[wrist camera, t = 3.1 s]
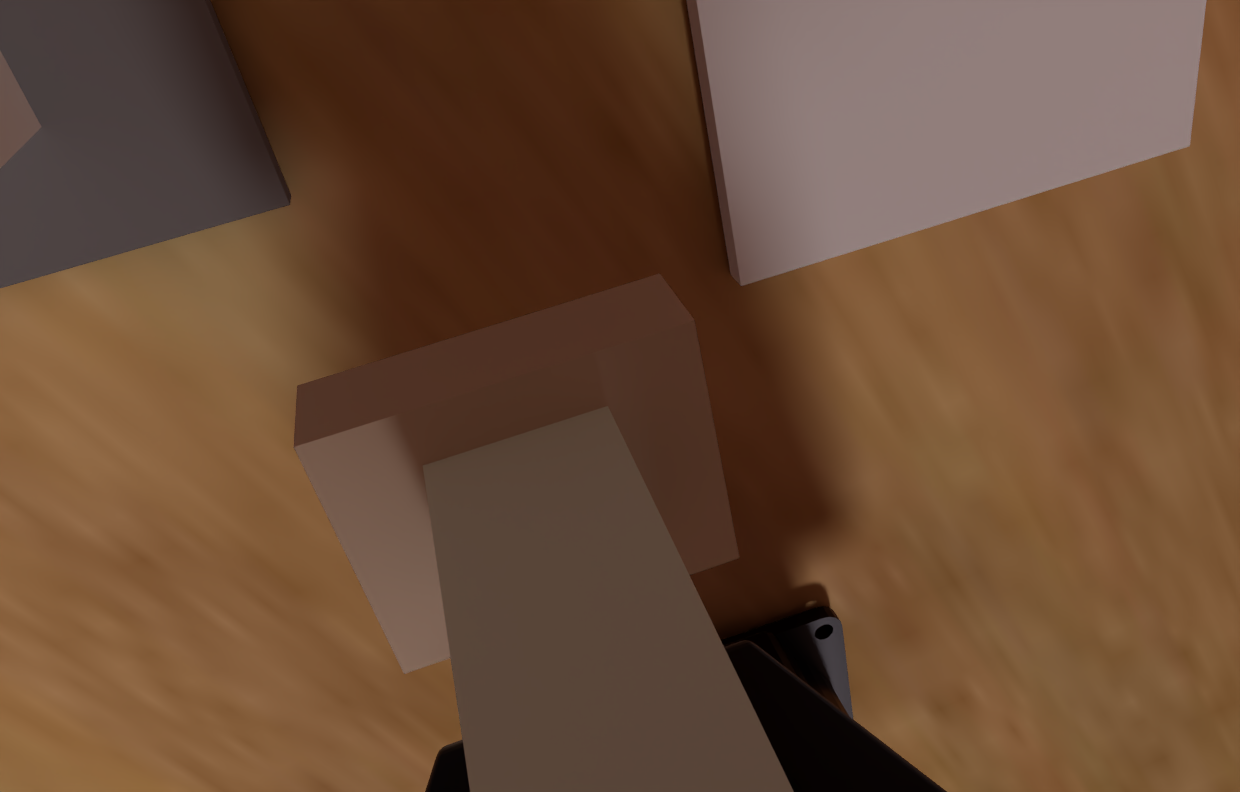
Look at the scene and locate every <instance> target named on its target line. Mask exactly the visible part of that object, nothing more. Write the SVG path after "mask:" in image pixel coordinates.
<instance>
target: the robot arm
mask: <svg viewBox="0 0 1240 792" xmlns="http://www.w3.org/2000/svg"><path fill="white" fill-rule="evenodd" d="M822 625H823V626H822ZM820 626H822V627H820ZM819 627H820V628H819ZM721 642H722V644H723V646H724V648H725V650H726V652H727V654H728V656H729V658H730V661H731V663H732V665H733V667H734V669H735V671H736V673H737V675H738V677H739V679H740V681H741V683H742V685H743V688H744V690H745V692H746V694H747V696H748V698H749V700H750V702H751V704H752V706H753V708H754V710H755V712H756V714H757V717H758V719H759V721H760V723H761V725H762V727H763V729H764V731H765V733H766V735H767V737H768V739H769V741H770V744H771V746H772V748H773V750H774V752H775V754H776V756H777V758H778V760H779V762H780V764H781V766H782V768H783V771H784V773H785V775H786V777H787V779H788V781H789V783H790V785H791V787H792V789H793V791H794V792H947V791H945V790H944V789H943V788H941V787H940V786H939V785H937V784H936V783H935V782H934V781H932V780H931V779H930V778H928V777H927V776H926V775H924V774H923V773H922V772H921V771H919V770H918V769H917V768H915V767H914V766H913V765H912V764H910V763H909V762H908V761H906V760H905V759H904V758H902V757H901V756H900V755H899V754H897V753H896V752H895V751H893V750H892V749H891V748H890V747H888V746H887V745H886V744H884V743H883V742H882V741H880V740H879V739H878V738H877V737H875V736H874V735H873V734H871V733H870V732H869V731H867V730H866V729H865V728H864V727H862V726H861V725H860V724H858V723H857V722H856V721H855V720H853V714H852V705H851V697H850V688H849V680H848V671H847V663H846V655H845V646H844V638H843V629H842V624H841V622H840V620H839V618H838V617H837V615H836V614H835V612H834V611H833V610H832V609H831V608H829V607H824V606H822V607H817V608H813V609H811V610H808V611H805V612H802V613H799V614H796V615H793V616H791V617H788V618H785V619H782V620H779V621H776V622H774V623H771V624H768V625H765V626H762V627H759V628H757V629H754V630H751V631H748V632H745V633H742V634H740V635H737V636H734V637H731V638H728V639H725V640H723V641H721ZM425 792H470V787H469V780H468V773H467V767H466V760H465V753H464V746H463V740H460V741H458V742H455V743H452V744H449V745H446V746H445V747H443V748H442V749H441V750H440V751H439V752H438V754H437V757H436V760H435V763H434V766H433V769H432V772H431V775H430V778H429V782H428V785H427V788H426V791H425Z"/></svg>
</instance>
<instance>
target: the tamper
mask: <svg viewBox="0 0 1240 792" xmlns="http://www.w3.org/2000/svg"><path fill="white" fill-rule="evenodd" d="M294 449H295V451H296V453H297V455H298V457H299V459H300V461H301V463H302V465H303V467H304V469H305V471H306V473H307V475H308V477H309V479H310V482H311V484H312V486H313V488H314V490H315V492H316V494H317V496H318V498H319V500H320V502H321V504H322V506H323V508H324V510H325V512H326V514H327V516H328V518H329V521H330V523H331V525H332V527H333V529H334V531H335V533H336V535H337V537H338V539H339V541H340V543H341V545H342V547H343V549H344V551H345V553H346V555H347V557H348V559H349V562H350V564H351V566H352V568H353V570H354V572H355V574H356V576H357V578H358V580H359V582H360V584H361V586H362V588H363V590H364V592H365V594H366V596H367V598H368V601H369V603H370V605H371V607H372V609H373V611H374V613H375V615H376V617H377V619H378V621H379V623H380V625H381V627H382V629H383V631H384V633H385V635H386V637H387V639H388V642H389V644H390V646H391V648H392V650H393V652H394V654H395V656H396V658H397V660H398V662H399V664H400V666H401V668H402V670H403V672H404V674H405V673H408V672H411V671H414V670H417V669H420V668H423V667H426V666H429V665H431V664H434V663H437V662H440V661H443V660H446V659H449V658H451V664H452V670H453V677H454V684H455V691H456V698H457V705H458V712H459V719H460V725H461V732H462V739H463V746H464V753H465V760H466V767H467V773H468V780H469V787H470V792H794V791H793V789H792V787H791V785H790V783H789V781H788V779H787V777H786V775H785V773H784V771H783V768H782V766H781V764H780V762H779V760H778V758H777V756H776V754H775V752H774V750H773V748H772V746H771V744H770V741H769V739H768V737H767V735H766V733H765V731H764V729H763V727H762V725H761V723H760V721H759V719H758V717H757V714H756V712H755V710H754V708H753V706H752V704H751V702H750V700H749V698H748V696H747V694H746V692H745V690H744V688H743V685H742V683H741V681H740V679H739V677H738V675H737V673H736V671H735V669H734V667H733V665H732V663H731V661H730V658H729V656H728V654H727V652H726V650H725V648H724V646H723V644H722V642H721V640H720V638H719V636H718V634H717V631H716V629H715V627H714V625H713V623H712V621H711V619H710V617H709V615H708V613H707V611H706V609H705V607H704V604H703V602H702V600H701V598H700V596H699V594H698V592H697V590H696V588H695V586H694V584H693V582H692V580H691V578H690V575H692V574H695V573H698V572H701V571H704V570H706V569H709V568H712V567H715V566H718V565H721V564H724V563H727V562H730V561H733V560H735V559H738V558H739V552H738V547H737V542H736V537H735V531H734V526H733V521H732V515H731V510H730V505H729V499H728V494H727V489H726V484H725V478H724V473H723V468H722V462H721V457H720V452H719V446H718V441H717V436H716V431H715V425H714V420H713V415H712V409H711V404H710V399H709V394H708V388H707V383H706V378H705V372H704V367H703V362H702V356H701V351H700V346H699V341H698V335H697V330H696V325H695V320H694V319H693V317H692V316H691V315H690V313H689V312H688V311H687V309H686V308H685V307H684V305H683V304H682V303H681V301H680V300H679V299H678V297H677V296H676V295H675V293H674V292H673V290H672V289H671V288H670V286H669V285H668V284H667V282H666V281H665V280H664V278H663V277H662V276H661V274H656V275H653V276H650V277H647V278H643V279H640V280H637V281H634V282H631V283H627V284H624V285H621V286H618V287H614V288H611V289H608V290H605V291H601V292H598V293H595V294H592V295H589V296H585V297H582V298H579V299H576V300H572V301H569V302H566V303H563V304H559V305H556V306H553V307H550V308H547V309H543V310H540V311H537V312H534V313H530V314H527V315H524V316H521V317H517V318H514V319H511V320H508V321H505V322H501V323H498V324H495V325H492V326H488V327H485V328H482V329H479V330H476V331H472V332H469V333H466V334H463V335H459V336H456V337H453V338H450V339H446V340H443V341H440V342H437V343H434V344H430V345H427V346H424V347H421V348H417V349H414V350H411V351H408V352H404V353H401V354H398V355H395V356H392V357H388V358H385V359H382V360H379V361H375V362H372V363H369V364H366V365H362V366H359V367H356V368H353V369H350V370H346V371H343V372H340V373H337V374H333V375H330V376H327V377H324V378H320V379H317V380H314V381H311V382H308V383H304V384H301V385H298V386H297V399H296V417H295V434H294Z"/></svg>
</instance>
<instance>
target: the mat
mask: <svg viewBox="0 0 1240 792" xmlns="http://www.w3.org/2000/svg"><path fill="white" fill-rule="evenodd" d="M0 51H1V53H2V55H3V56H4V58H5V60H6V62H7V64H8V66H9V68H10V69H11V71H12V73H13V75H14V77H15V79H16V81H17V82H18V84H19V86H20V88H21V90H22V92H23V94H24V95H25V97H26V99H27V101H28V103H29V105H30V107H31V108H32V110H33V112H34V114H35V116H36V118H37V119H38V121H39V123H40V125H41V128H40V129H39V130H38V131H37V132H36V133H35V134H34V135H33V136H32V137H31V138H30V139H29V140H28V141H27V142H26V143H25V144H24V145H23V146H22V147H21V148H20V149H19V150H18V151H17V152H16V153H15V154H14V155H13V156H12V157H11V158H10V159H9V160H8V161H7V162H6V163H5V164H4V165H3V166H2V167H1V168H0V288H3V287H6V286H10V285H13V284H17V283H20V282H24V281H27V280H31V279H34V278H38V277H41V276H44V275H48V274H51V273H55V272H58V271H62V270H65V269H69V268H72V267H76V266H79V265H83V264H86V263H90V262H93V261H96V260H100V259H103V258H107V257H110V256H114V255H117V254H121V253H124V252H128V251H131V250H135V249H138V248H142V247H145V246H149V245H152V244H155V243H159V242H162V241H166V240H169V239H173V238H176V237H180V236H183V235H187V234H190V233H194V232H197V231H201V230H204V229H207V228H211V227H214V226H218V225H221V224H225V223H228V222H232V221H235V220H239V219H242V218H246V217H249V216H253V215H256V214H260V213H263V212H266V211H270V210H273V209H277V208H280V207H284V206H287V205H290V200H291V194H290V192H289V189H288V187H287V185H286V182H285V180H284V177H283V175H282V172H281V170H280V168H279V165H278V163H277V160H276V158H275V156H274V153H273V151H272V148H271V146H270V143H269V141H268V139H267V136H266V134H265V131H264V129H263V127H262V124H261V122H260V119H259V117H258V114H257V112H256V110H255V107H254V105H253V102H252V100H251V98H250V95H249V93H248V90H247V88H246V86H245V83H244V81H243V78H242V76H241V73H240V71H239V69H238V66H237V64H236V61H235V59H234V57H233V54H232V52H231V49H230V47H229V44H228V42H227V40H226V37H225V35H224V32H223V30H222V28H221V25H220V23H219V20H218V18H217V15H216V13H215V11H214V8H213V6H212V3H211V1H210V0H0Z"/></svg>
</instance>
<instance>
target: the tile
mask: <svg viewBox="0 0 1240 792" xmlns="http://www.w3.org/2000/svg"><path fill="white" fill-rule="evenodd" d="M40 128H41V125H40V123H39V121H38V119H37V118H36V116H35V114H34V112H33V110H32V108H31V107H30V105H29V103H28V101H27V99H26V97H25V95H24V94H23V92H22V90H21V88H20V86H19V84H18V82H17V81H16V79H15V77H14V75H13V73H12V71H11V69H10V68H9V66H8V64H7V62H6V60H5V58H4V56H3V55H2V53H1V51H0V168H1V167H2V166H3V165H4V164H5V163H6V162H7V161H8V160H9V159H10V158H11V157H12V156H13V155H14V154H15V153H16V152H17V151H18V150H19V149H20V148H21V147H22V146H23V145H24V144H25V143H26V142H27V141H28V140H29V139H30V138H31V137H32V136H33V135H34V134H35V133H36V132H37V131H38V130H39V129H40Z"/></svg>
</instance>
